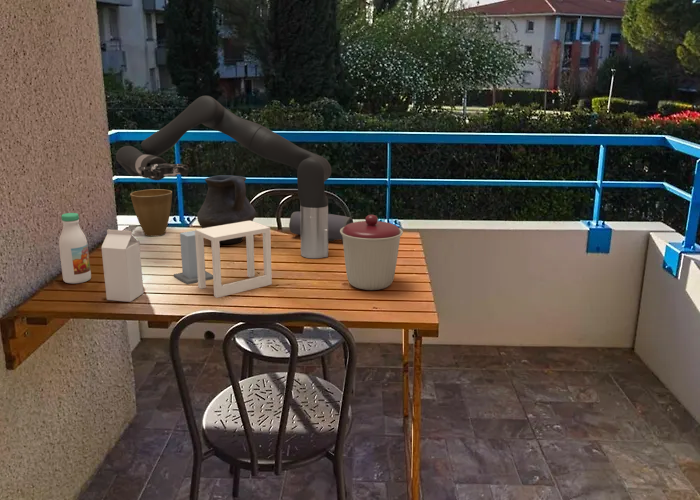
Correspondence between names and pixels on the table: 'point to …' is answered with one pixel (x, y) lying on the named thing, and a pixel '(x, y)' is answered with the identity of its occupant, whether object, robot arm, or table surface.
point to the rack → (240, 231)
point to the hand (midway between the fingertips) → (173, 173)
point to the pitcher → (225, 204)
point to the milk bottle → (73, 251)
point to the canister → (370, 252)
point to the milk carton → (122, 266)
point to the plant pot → (152, 210)
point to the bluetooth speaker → (333, 225)
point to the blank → (189, 254)
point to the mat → (193, 280)
